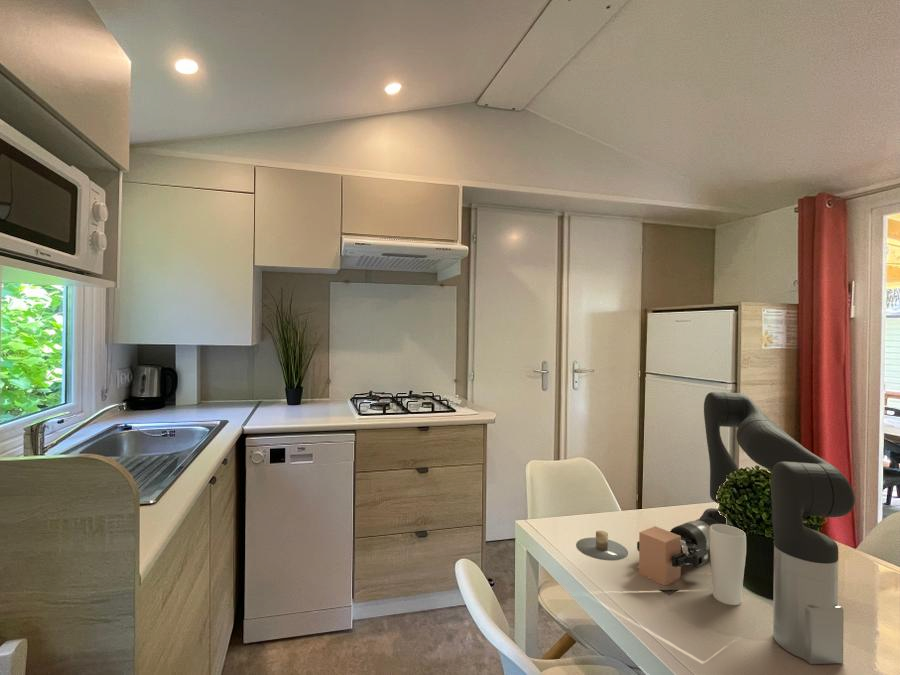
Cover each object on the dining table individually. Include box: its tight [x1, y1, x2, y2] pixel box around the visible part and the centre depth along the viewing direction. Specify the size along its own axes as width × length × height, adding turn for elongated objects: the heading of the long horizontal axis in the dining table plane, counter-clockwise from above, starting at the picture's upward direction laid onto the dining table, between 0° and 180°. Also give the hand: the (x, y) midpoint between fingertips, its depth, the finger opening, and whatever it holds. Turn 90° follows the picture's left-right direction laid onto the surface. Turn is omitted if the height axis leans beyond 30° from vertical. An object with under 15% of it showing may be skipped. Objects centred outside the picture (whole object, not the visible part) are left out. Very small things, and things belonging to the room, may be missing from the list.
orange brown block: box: [638, 525, 682, 586], centre depth 105 cm, size 6×6×10 cm
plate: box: [575, 537, 629, 561], centre depth 118 cm, size 13×13×1 cm
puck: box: [595, 530, 609, 551], centre depth 118 cm, size 3×3×4 cm
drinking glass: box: [709, 524, 747, 606], centre depth 96 cm, size 7×7×15 cm
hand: (655, 554), depth 104 cm, fingers open, 8 cm apart
